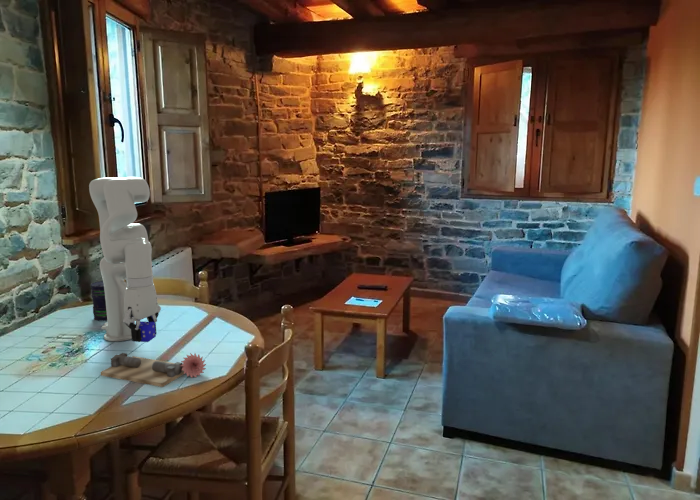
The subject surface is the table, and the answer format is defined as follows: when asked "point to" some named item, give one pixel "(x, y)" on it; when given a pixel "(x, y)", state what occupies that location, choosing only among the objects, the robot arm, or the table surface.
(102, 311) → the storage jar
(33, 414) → the table surface
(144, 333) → the die
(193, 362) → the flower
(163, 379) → the shaft bed
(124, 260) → the robot arm
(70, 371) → the table surface
